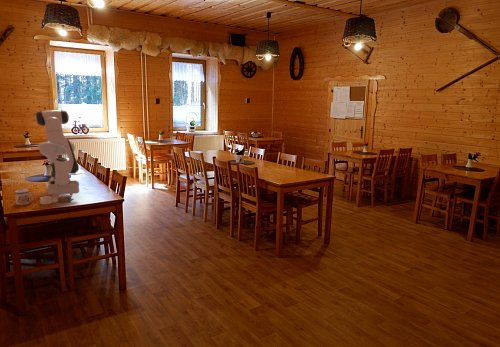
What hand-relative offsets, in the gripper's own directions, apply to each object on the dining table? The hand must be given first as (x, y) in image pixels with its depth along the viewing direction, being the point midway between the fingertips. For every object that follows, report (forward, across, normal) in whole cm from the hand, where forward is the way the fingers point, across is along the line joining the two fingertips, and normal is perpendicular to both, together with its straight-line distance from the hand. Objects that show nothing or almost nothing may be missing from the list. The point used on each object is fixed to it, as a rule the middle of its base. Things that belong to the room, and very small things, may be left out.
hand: (64, 199), depth 269 cm
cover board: (+1, 0, 0) cm, 1 cm away
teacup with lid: (+2, +26, -1) cm, 26 cm away
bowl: (+2, +11, +4) cm, 12 cm away
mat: (+2, 0, 0) cm, 2 cm away
